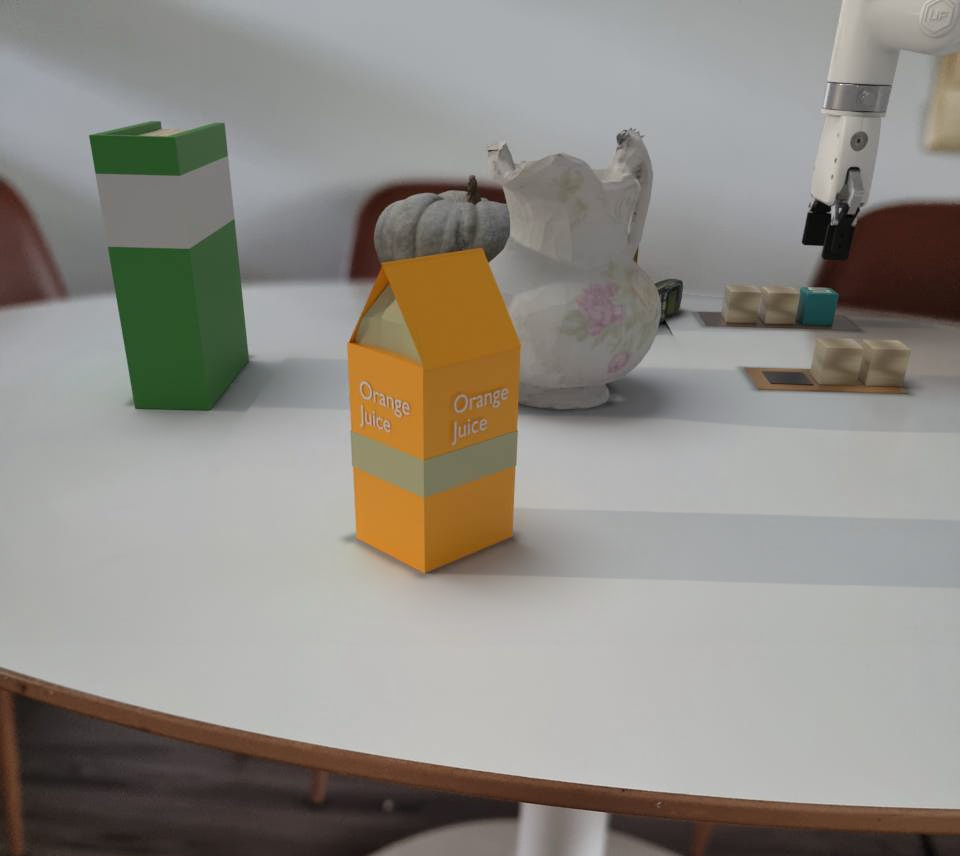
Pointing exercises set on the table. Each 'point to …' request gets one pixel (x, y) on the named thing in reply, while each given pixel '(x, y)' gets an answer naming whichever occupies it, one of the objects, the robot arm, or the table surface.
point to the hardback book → (173, 260)
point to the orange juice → (434, 410)
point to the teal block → (817, 306)
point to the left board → (764, 310)
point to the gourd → (442, 225)
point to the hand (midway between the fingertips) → (823, 252)
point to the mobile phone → (669, 297)
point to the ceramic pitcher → (576, 271)
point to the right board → (842, 368)
